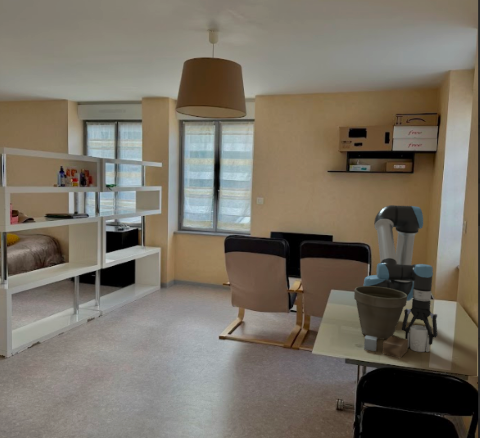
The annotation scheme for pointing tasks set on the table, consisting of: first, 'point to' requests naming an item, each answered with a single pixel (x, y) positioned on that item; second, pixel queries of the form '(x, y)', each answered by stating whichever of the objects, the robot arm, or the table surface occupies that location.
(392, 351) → the walnut block
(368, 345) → the grey cube
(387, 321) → the plant pot
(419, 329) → the white cup
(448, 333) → the table surface
